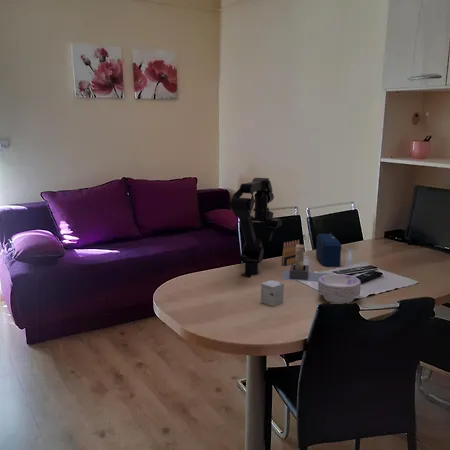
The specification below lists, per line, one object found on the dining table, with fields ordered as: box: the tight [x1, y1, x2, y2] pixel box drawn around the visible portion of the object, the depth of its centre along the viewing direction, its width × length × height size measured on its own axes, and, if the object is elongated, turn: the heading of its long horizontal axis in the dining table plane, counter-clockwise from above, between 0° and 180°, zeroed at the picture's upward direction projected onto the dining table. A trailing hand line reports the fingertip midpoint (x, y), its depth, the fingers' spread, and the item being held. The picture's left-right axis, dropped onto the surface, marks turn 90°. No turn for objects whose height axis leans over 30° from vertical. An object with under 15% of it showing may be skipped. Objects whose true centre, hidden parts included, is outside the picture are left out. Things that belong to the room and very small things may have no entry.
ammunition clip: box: [281, 239, 301, 267], centre depth 215 cm, size 11×2×12 cm, turn 127°
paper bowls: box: [317, 273, 362, 304], centre depth 172 cm, size 15×15×8 cm
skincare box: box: [260, 279, 285, 307], centre depth 169 cm, size 6×6×7 cm
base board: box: [280, 270, 330, 283], centre depth 197 cm, size 24×12×1 cm, turn 77°
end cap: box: [289, 264, 310, 280], centre depth 197 cm, size 7×9×4 cm
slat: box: [294, 243, 305, 271], centre depth 196 cm, size 3×5×12 cm, turn 167°
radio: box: [315, 233, 342, 268], centre depth 219 cm, size 21×9×20 cm, turn 179°
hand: (260, 239), depth 211 cm, fingers open, 9 cm apart
